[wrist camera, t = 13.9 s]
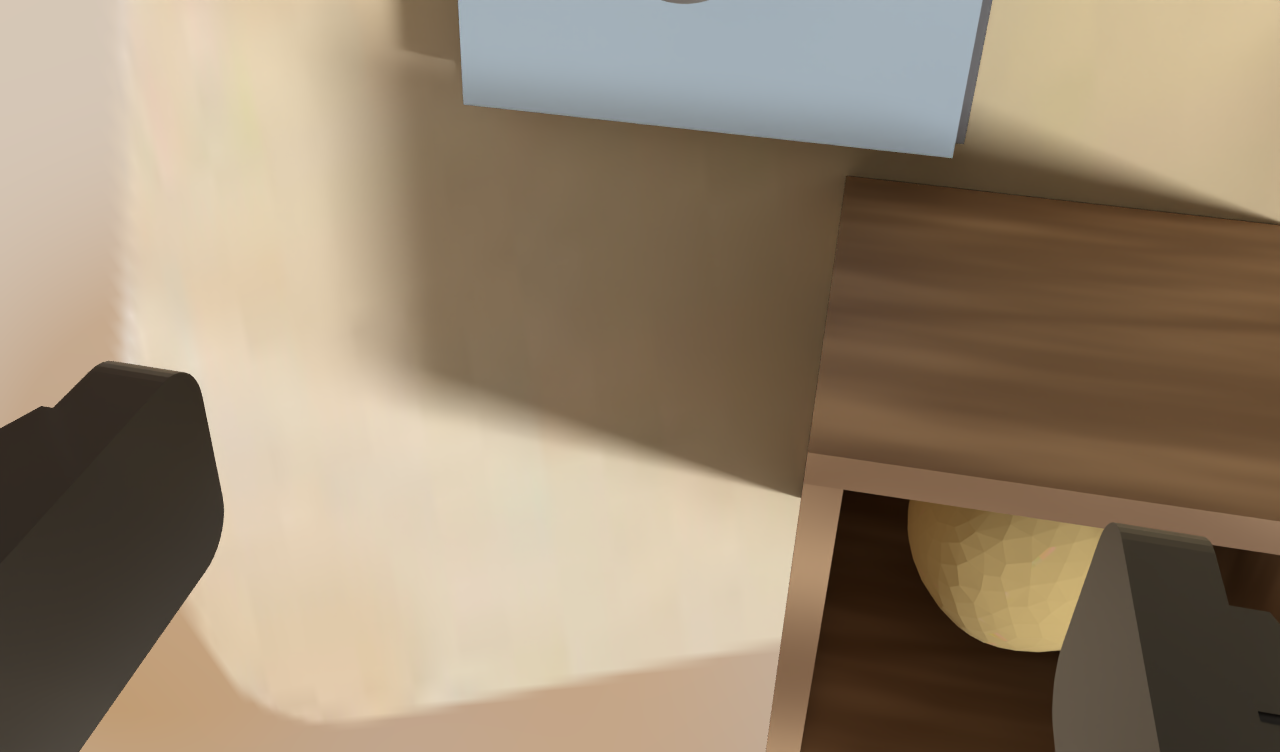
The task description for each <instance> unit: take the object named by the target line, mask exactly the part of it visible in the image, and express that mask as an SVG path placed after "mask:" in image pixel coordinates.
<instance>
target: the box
mask: <svg viewBox="0 0 1280 752" xmlns="http://www.w3.org/2000/svg"><path fill="white" fill-rule="evenodd" d="M909 500H916V501H923V502H930V503H936V504H943V505H950V506H956V507H963V508H970V509H976V510H983V511H990V512H996V513H1003V514H1010V515H1016V516H1023V517H1030V518H1036V519H1043V520H1049V521H1056V522H1063V523H1069V524H1076V525H1083V526H1089V527H1096V528H1103V529H1105V527H1106V526H1107V525H1108V524H1109V523H1112V522H1114V523H1121V524H1127V525H1133V526H1140V527H1146V528H1152V529H1159V530H1165V531H1171V532H1178V533H1184V534H1190V535H1196V536H1203V537H1206V538H1207V539H1208V540H1209V541H1210V542H1211V544H1212V546H1213V548H1214V551H1215V554H1216V558H1217V562H1218V566H1219V569H1220V573H1221V577H1222V580H1223V584H1224V588H1225V592H1226V595H1227V599H1228V603H1229V605H1230V606H1236V607H1242V608H1248V609H1254V610H1260V611H1266V612H1270V613H1271V614H1272V615H1273V616H1274V618H1275V619H1276V620H1277V621H1278V622H1279V624H1280V225H1273V224H1265V223H1256V222H1247V221H1238V220H1230V219H1221V218H1212V217H1203V216H1194V215H1186V214H1177V213H1168V212H1159V211H1151V210H1142V209H1133V208H1124V207H1115V206H1107V205H1098V204H1089V203H1080V202H1072V201H1063V200H1054V199H1045V198H1036V197H1028V196H1019V195H1010V194H1001V193H993V192H984V191H975V190H966V189H957V188H949V187H940V186H931V185H922V184H913V183H905V182H896V181H887V180H878V179H870V178H861V177H852V176H846V183H845V190H844V197H843V204H842V211H841V218H840V225H839V233H838V240H837V247H836V254H835V261H834V268H833V275H832V282H831V289H830V297H829V304H828V311H827V318H826V325H825V332H824V339H823V346H822V354H821V361H820V368H819V375H818V382H817V389H816V396H815V403H814V410H813V418H812V425H811V432H810V439H809V446H808V453H807V460H806V467H805V474H804V482H803V489H802V496H801V503H800V510H799V517H798V524H797V532H796V539H795V546H794V553H793V560H792V567H791V574H790V582H789V589H788V596H787V603H786V610H785V617H784V625H783V632H782V639H781V646H780V654H779V660H778V668H777V675H776V682H775V690H774V697H773V704H772V711H771V718H770V726H769V733H768V739H767V747H766V752H1055V743H1054V733H1053V720H1052V705H1053V689H1054V680H1055V674H1056V668H1057V663H1058V658H1059V654H1060V651H1061V650H1058V651H1046V652H1029V651H1015V650H1010V649H1005V648H1000V647H996V646H993V645H990V644H987V643H984V642H981V641H980V640H978V639H976V638H974V637H972V636H970V635H969V634H967V633H966V632H965V631H963V630H962V629H961V628H959V627H958V626H957V625H956V624H955V623H954V622H953V621H952V620H951V619H950V618H949V617H948V616H947V615H946V614H945V613H944V612H943V611H942V610H941V609H940V608H939V606H938V605H937V603H936V602H935V600H934V599H933V597H932V596H931V594H930V593H929V591H928V589H927V588H926V586H925V585H924V583H923V582H922V580H921V577H920V575H919V572H918V570H917V567H916V565H915V562H914V560H913V556H912V552H911V547H910V543H909V537H908V507H909Z"/></svg>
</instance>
